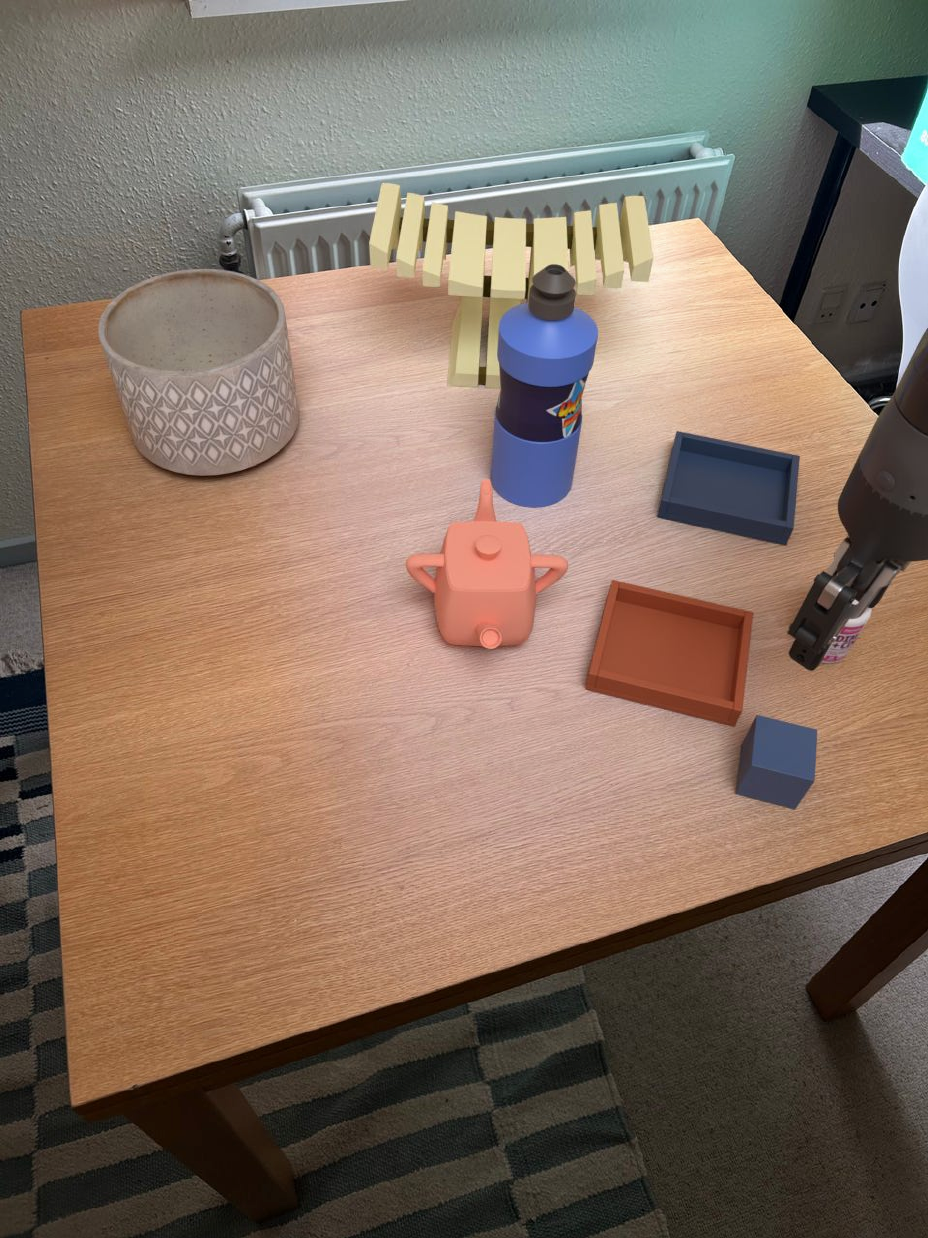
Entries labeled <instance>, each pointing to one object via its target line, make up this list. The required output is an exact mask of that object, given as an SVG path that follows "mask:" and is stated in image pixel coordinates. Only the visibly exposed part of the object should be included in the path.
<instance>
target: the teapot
mask: <svg viewBox="0 0 928 1238" xmlns="http://www.w3.org/2000/svg"><path fill="white" fill-rule="evenodd" d="M493 490H494V489H493V486H492V484H491V479H489V478H484V479H483V480H482V482H481V483H480V485H479V497H478V505H477V508H476V512H475V515H474V518H473V520H470V521H467V520H465V521H454V522H452V523H450V524H449V526H448V528H447V531H446V533H445V535H444V538H443V541H442V545H441V548H440V553H434V552H433V553H432V552H431V553H430V552H429V553H428V552H427V553H425V552H424V553H416V554H413V555H412V554H411V555H410V556H409V557H408V558H407V559H406V561H405V569H406V571H407V572H408V574H409V576H410V577H412V578H413V580H415V581H416V582H417V583H418V584H420V585H422V586H423V587H424V588H425V589H427V590H428V591H430V592H432V593H433V594H434V609H435V615H436V616H435V617H436V620H437V625H438V629H439V631H440V634H441V636H442V638H443V639H444V641H445V642H446V643H447V644H449V645H456V646H473V647H475V646H476V647H483V648H485V649H487V650H488V649H489V650H493V649H496V648H497V647H502V646H504V647H505V646H507V647H508V646H518V645H522V644H525V642H526V641H527V640H528V639H529V637H530V636H531V633H532V631H533V628H534V623H535V617H536V615H535V614H536V604H537V594H540V593H542V592H544V591H545V590H546V589H548V588H549V587H551V586H553V585H554V584H555V583H557V582H559V580H561V579H562V578H563V577H564V576H565V575H566V574H567V572H568V569H569V561H568V560H567V559H566V558H564V557H563V556H560V555H558V554H557V555H556V554H532V552H531V551H532V550H531V546H530V542H529V538H528V534H527V531H526V528H525V527H524V525H523V524H522V523H520V522H512V521H497V517H496V513H495V508H494V507H495V506H494V496H493ZM428 567H429V568H430V567H431V568H432V567H433V568H434V567H436V571H435V578H434V577H432V576H431V575H430V574H428V572H427V571H426V570H425V569H424V568H428ZM535 568H536V569H538V568H539V569H540V568H541V569H542V568H543V569H548V571H546V572H545V573H544V574H543V575H541V577H539V578H537V579H536V573H535Z"/></svg>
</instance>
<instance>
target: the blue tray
mask: <svg viewBox="0 0 928 1238" xmlns="http://www.w3.org/2000/svg"><path fill="white" fill-rule="evenodd" d="M671 446H672V447H671V451H670V456H669V460H668V465H667V470H666V474H665V478H664V482H663V487H662V491H661V497H660V501H659V506H658V510H657V515H656V518H658V519H663V520H667V521H672V522H676V523H680V524H685V525H690V526H693V527H700V528H704V529H708V530H713V531H716V532H717V531H718V532H722V533H727V534H731V535H734V536H735V535H736V536H740V537H745V538H750V539H754V540H758V541H763V542H767V543H773V544H778V545H780V546H781V545H782V546H787V545H788V543H789V539H791V538H790V537H791V535H792V534H793V531H794V529H795V517H796V506H797V497H798V496H797V493H798V484H799V471H800V462H801V461H800V459H801V455H798V454H792V453H788V452H783V451H777V450H773V449H768V448H763V447H760V446H759V447H758V446H753V445H748V444H743V443H739V442H734V441H728V440H723V439H718V438H713V437H708V436H704V435H699V434H694V433H689V432H684V431H678V430H676V432H675V435H674V439H673V443H672V445H671Z"/></svg>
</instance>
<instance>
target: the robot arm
mask: <svg viewBox="0 0 928 1238" xmlns="http://www.w3.org/2000/svg"><path fill="white" fill-rule="evenodd" d="M916 345H917V346H916V348H915V350H914V352H913V354H912V356H911V357H910V360H909V362H908V364H907V366H906V368H905V370H904V372H903V374H902V376H901V378H900V380H899V382H898V385H896V386H897V387H896V388H895V390H894V392H893V394H892V396H891V397H890V398H889V400H888V401H887V403H886V404H885V406H884V407H883V409H882V410H881V411H880V413H879V414H878V416H877V418H876V420H875V422H874V424H873V425H872V428H871V430H870V432H869V434H868V437H867V439H866V441H865V443H864V445H863V447H862V449H861V451H860V453H859V455H858V457H857V458H856V461H855V463H854V464H853V467H852V470H851V471H850V473H849V475H848V477H847V480H846V481H845V484H844V485H843V488H842V490H841V492H840V494H839V497H838V501H837V514H838V516H839V518H838V519H839V520H840V523H841V525H842V526H843V528H844V529H845V531H846V534H847V536H846V537H845V538H844V539H843V540H842V542H841V543H840V544H839V546H838V547H837V549H836V550H835V551H834V553H833V561H832V562H831V564H830V565H829V566H828V568H827V569H826V570H822V571H821V572H820V573H818V574H816V576H815V577H814V579H813V583H812V585H811V587H810V589H809V590H808V592H807V594H806V596H805V598H804V600H803V602H802V604H801V606H800V608H799V609H798V611H797V613H796V615H795V616H794V619H793V621H792V622H791V623H790V624H789V626H788V630H787V633H786V634H787V635H789V636H790V637H792V638H793V639H794V641H793V643H792V644H791V646H790V649H789V650H788V657H789V658H790V659H791V660H793V661H794V662H796V663H797V664H798V665H800V666H802V667H803V668H804V669H806V670H808V671H809V672H814V671H815V670H816V669H817V668H818V667H819V666H820V665H821V663H822V662H821V661H822V660H823V658H824V656H825V654H826V653H827V651H828V649H829V647H830V646H831V644H832V642H835V641H836V640H837V638H838V636H837V635H838V634H839V633H840V631H841V630H842V629H843V627H844V626H845V624H846V623H847V622H848V620H849V619H856V618H859V617H860V616H862V614H863V613H864V612H865V610H866V609H867V607H868V608H871V609H874V608H875V607H876V606H877V605H878V604H879V603H880V601H881V600H882V598H883V597H884V595H885V593H886V591H888V588H889V586H890V585H891V584H892V582H893V580H894V579H895V577H896V576H897V575H899V573H901V572H905V571H906V569H907V568H908V567H909V566H910V564H911V563H912V562H924V561H928V327H927V328H926V330H925V331H924V332H923V335H922V336H921V338H920V340H919V341H918V343H917V344H916ZM854 600H857V601H858V602H859V603H858V604H856V605H854V604H852V603H853V601H854Z"/></svg>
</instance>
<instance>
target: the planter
mask: <svg viewBox="0 0 928 1238" xmlns="http://www.w3.org/2000/svg"><path fill="white" fill-rule="evenodd" d="M286 316H287V315H286V310H285V305H284V303H283V301H282V300H281V297H280V296H279V295H278V294H277V293H276V291H274V289H273V288H272V287H270V286H269V285H267V284H266V283H264V282H262V281H261V280H259V279H257V278H254V277H252V276H250V275H247V274H244V273H241V272H236V271H231V270H225V269H217V268H192V269H182V270H181V269H180V270H176V271H169V272H166V273H161V274H159V275H154V276H153V277H149V278H147V279H144V280H142V281H139V282H137V283H136V284H134V285H131V286H130V287H128V288H126V289H125V290H124V291H122V292H120V293H119V294H118V295H117V296H116V297H114V298H113V299H112V300H111V301H110V302H109V303H108V305H107V306H106V307H105V309H104V310H103V312H102V314H101V315H100V317H99V322H98V326H97V333H98V334H97V335H98V339H99V343H100V345H101V349H102V351H103V354H104V357H105V360H106V363H107V367H108V369H109V372H110V375H111V380H112V381H113V384H114V389H115V390H116V392H117V393H116V394H117V396H118V400H119V403H120V406H121V409H122V411H123V412H122V413H123V415H124V418H125V421H126V423H127V426H128V429H129V433H130V436H131V439H132V442H133V444H134V446H135V447H136V449H137V450H138V451H139V452H140V454H141V455H142V456H143V457H144V458H145V459H146V460H148V461H149V462H150V463H153V464H154V465H156V466H157V467H160V468H162V469H165V470H168V471H169V472H173V473H178V474H183V475H188V476H200V477H201V476H203V477H204V476H220V475H227V474H232V473H236V472H240V471H243V470H247V469H249V468H252V467H255V466H257V465H259V464H261V463H263V462H265V461H266V460H268V459H270V458H272V457H274V455H276V454H277V453H278V452H280V451H281V450H282V449H283V448H285V447H286V445H287V444H288V443H289V442H290V440H291V439H292V438H293V436H294V435H295V432H296V431H297V428H298V425H299V421H300V407H299V401H298V394H297V393H298V392H297V387H296V380H295V373H294V365H293V358H292V351H291V344H290V339H289V338H290V336H289V330H288V323H287V317H286Z"/></svg>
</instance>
